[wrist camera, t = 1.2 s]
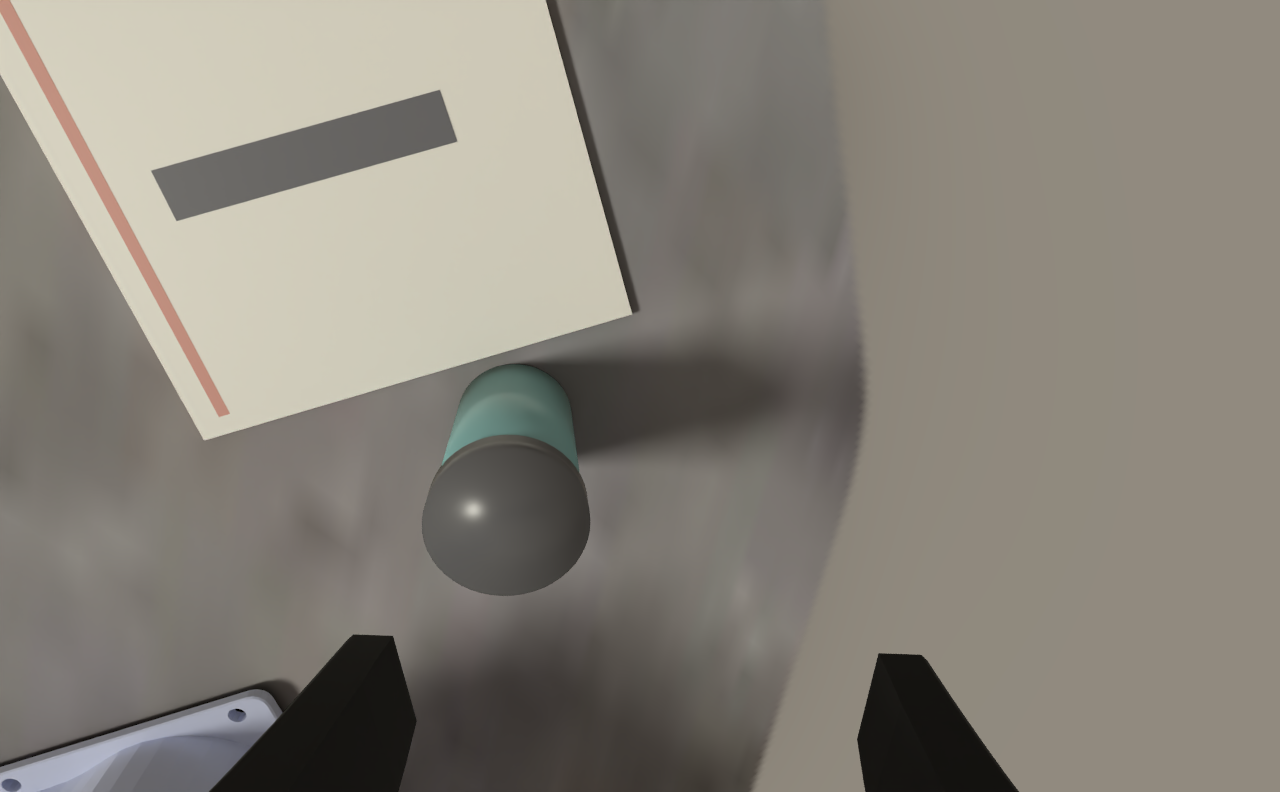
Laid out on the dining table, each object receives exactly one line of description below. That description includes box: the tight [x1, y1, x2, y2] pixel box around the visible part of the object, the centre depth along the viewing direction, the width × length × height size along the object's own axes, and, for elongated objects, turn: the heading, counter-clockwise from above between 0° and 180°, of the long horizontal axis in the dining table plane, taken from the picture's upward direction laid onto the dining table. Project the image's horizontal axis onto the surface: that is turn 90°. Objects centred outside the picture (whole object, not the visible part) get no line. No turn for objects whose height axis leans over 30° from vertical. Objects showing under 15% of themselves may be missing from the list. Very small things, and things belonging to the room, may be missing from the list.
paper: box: [0, 0, 632, 440], centre depth 17 cm, size 12×12×1 cm
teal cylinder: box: [422, 364, 590, 596], centre depth 17 cm, size 3×3×6 cm
